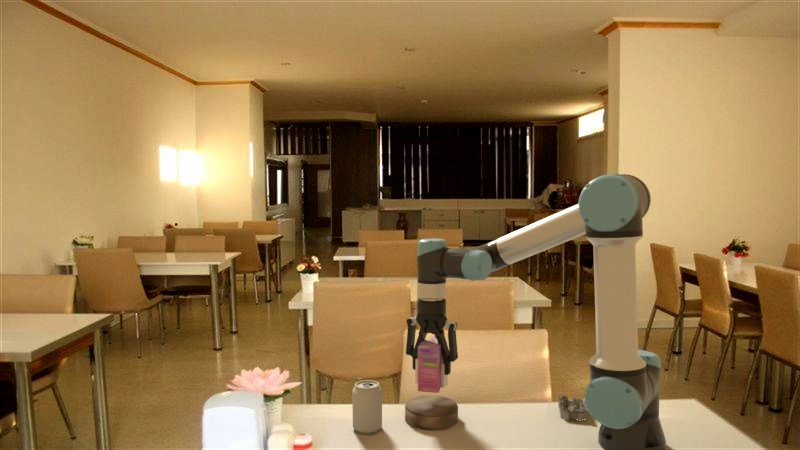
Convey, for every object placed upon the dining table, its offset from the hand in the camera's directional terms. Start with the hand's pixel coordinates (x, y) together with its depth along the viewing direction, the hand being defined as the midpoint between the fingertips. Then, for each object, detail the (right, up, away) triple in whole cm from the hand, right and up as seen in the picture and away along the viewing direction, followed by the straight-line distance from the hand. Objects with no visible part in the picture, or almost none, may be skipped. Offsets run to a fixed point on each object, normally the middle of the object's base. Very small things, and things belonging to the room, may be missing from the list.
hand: (431, 383), depth 160 cm
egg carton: (+39, -10, +5) cm, 40 cm away
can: (-17, -10, -5) cm, 20 cm away
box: (0, -1, 0) cm, 1 cm away
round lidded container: (0, -10, +1) cm, 10 cm away
